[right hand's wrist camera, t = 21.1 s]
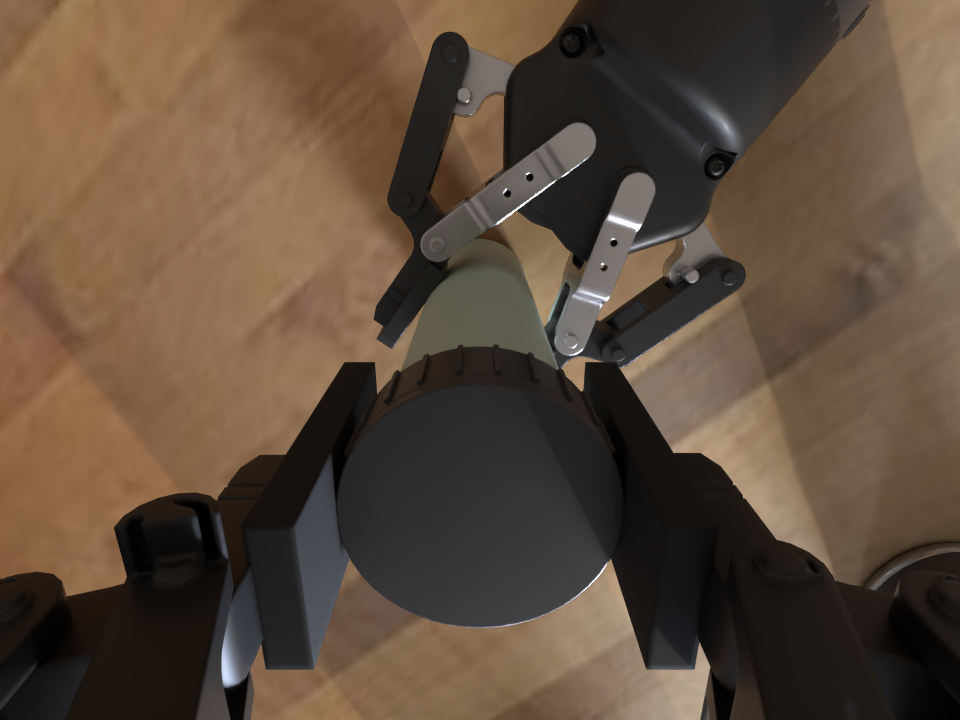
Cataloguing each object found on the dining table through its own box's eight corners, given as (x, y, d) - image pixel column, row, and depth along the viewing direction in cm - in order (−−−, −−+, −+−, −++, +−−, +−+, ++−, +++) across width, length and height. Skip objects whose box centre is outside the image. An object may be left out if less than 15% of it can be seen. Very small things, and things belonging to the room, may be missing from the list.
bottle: (514, 228, 27) (571, 361, 10) (533, 315, 29) (611, 558, 12) (424, 251, 28) (335, 415, 11) (448, 335, 29) (403, 599, 12)
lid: (627, 533, 13) (652, 598, 11) (401, 585, 13) (388, 655, 11) (576, 311, 11) (595, 343, 9) (316, 381, 11) (285, 425, 10)
